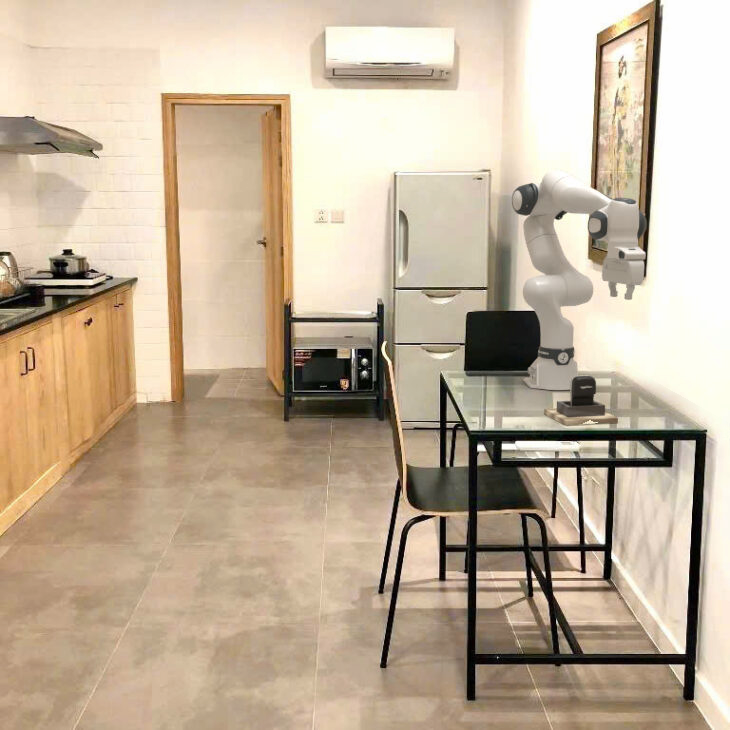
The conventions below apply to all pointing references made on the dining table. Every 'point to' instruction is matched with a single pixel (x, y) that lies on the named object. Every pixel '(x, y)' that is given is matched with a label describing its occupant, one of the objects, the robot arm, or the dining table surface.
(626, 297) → the robot arm
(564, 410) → the dock
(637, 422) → the dining table surface
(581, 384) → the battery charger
